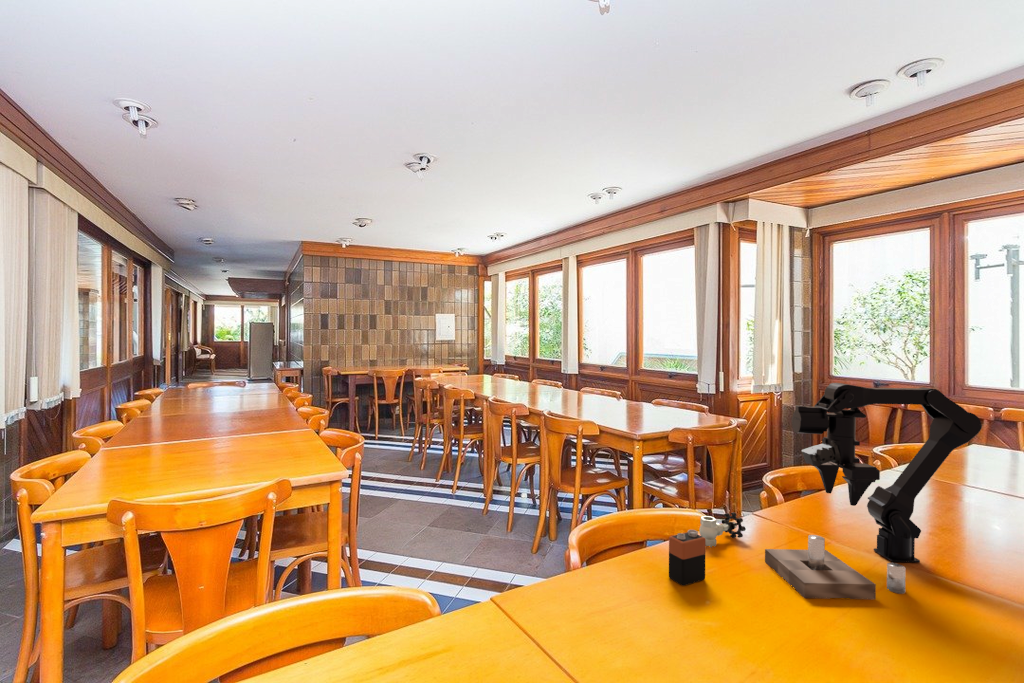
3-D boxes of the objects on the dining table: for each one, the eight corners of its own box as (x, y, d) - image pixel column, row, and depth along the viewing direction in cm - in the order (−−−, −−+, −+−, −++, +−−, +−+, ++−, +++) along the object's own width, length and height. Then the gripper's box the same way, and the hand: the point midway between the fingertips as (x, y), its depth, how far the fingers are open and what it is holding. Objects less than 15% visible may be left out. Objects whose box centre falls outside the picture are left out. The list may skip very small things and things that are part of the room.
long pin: (818, 576, 108) (819, 535, 108) (827, 582, 105) (827, 540, 105) (804, 575, 108) (805, 534, 108) (813, 582, 105) (813, 540, 105)
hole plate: (825, 563, 114) (826, 550, 114) (875, 599, 98) (875, 584, 98) (764, 561, 114) (765, 549, 114) (804, 597, 98) (804, 582, 98)
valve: (713, 551, 120) (745, 542, 126) (713, 524, 120) (745, 516, 126) (691, 541, 126) (723, 533, 132) (692, 515, 126) (724, 508, 132)
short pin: (897, 586, 103) (898, 562, 103) (908, 593, 100) (909, 569, 100) (883, 586, 104) (883, 562, 103) (894, 593, 101) (894, 569, 100)
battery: (706, 580, 105) (706, 533, 105) (682, 587, 102) (683, 539, 102) (690, 571, 109) (691, 526, 109) (667, 578, 106) (668, 531, 106)
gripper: (787, 427, 129) (786, 487, 129) (831, 442, 111) (830, 511, 111) (830, 428, 129) (829, 487, 129) (882, 443, 110) (881, 512, 111)
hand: (840, 499), depth 120 cm, fingers open, 9 cm apart
